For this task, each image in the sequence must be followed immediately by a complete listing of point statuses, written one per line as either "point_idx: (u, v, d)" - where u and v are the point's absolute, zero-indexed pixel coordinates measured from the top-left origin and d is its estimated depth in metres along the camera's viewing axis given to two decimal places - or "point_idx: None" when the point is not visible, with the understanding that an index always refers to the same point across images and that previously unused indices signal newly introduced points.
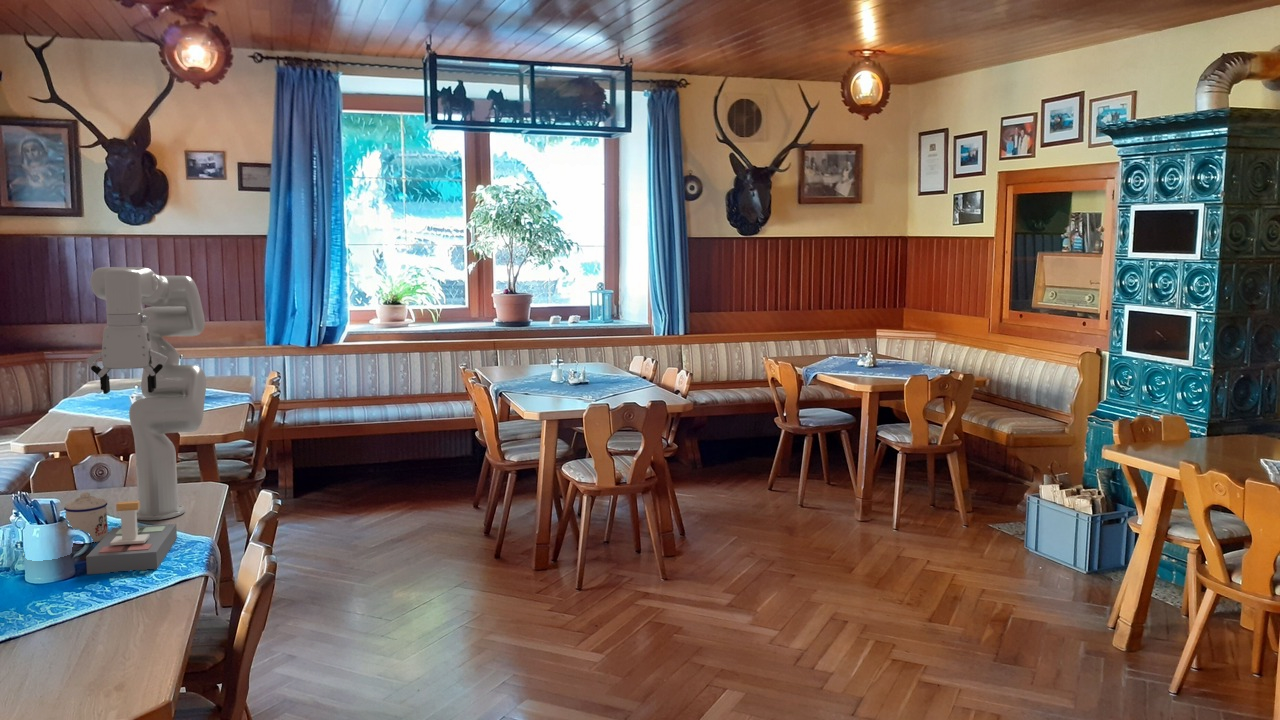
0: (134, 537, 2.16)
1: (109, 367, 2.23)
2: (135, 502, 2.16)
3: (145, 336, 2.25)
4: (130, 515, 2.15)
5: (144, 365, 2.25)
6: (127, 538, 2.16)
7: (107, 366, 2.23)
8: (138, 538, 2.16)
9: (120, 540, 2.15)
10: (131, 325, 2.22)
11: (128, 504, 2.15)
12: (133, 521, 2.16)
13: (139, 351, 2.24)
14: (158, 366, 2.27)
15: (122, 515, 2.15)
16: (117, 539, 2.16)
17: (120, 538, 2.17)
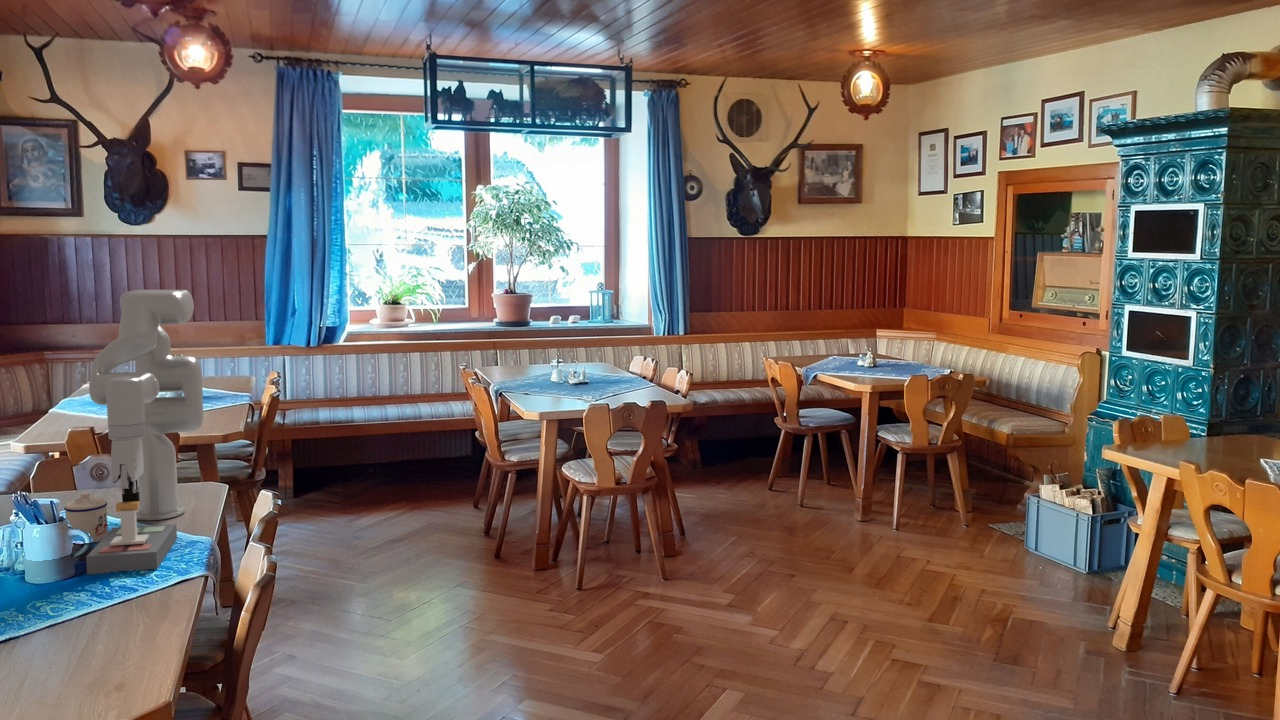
0: (134, 537, 2.16)
1: (135, 480, 2.15)
2: (135, 502, 2.16)
3: None
4: (130, 515, 2.15)
5: (143, 471, 2.22)
6: (127, 538, 2.15)
7: (135, 479, 2.15)
8: (138, 539, 2.16)
9: (120, 540, 2.15)
10: None
11: (128, 504, 2.15)
12: (133, 521, 2.15)
13: None
14: (137, 480, 2.20)
15: (122, 515, 2.15)
16: (117, 539, 2.16)
17: (120, 538, 2.16)
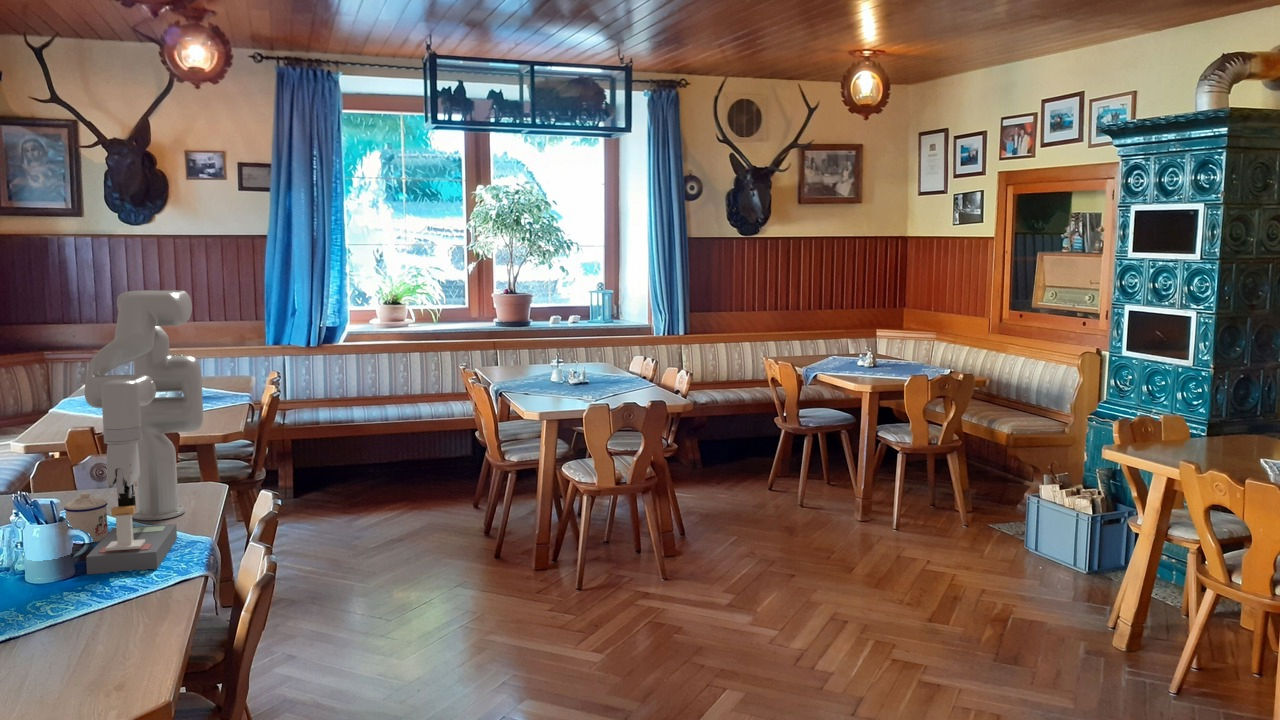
0: (130, 542, 2.12)
1: (131, 484, 2.11)
2: (131, 507, 2.12)
3: None
4: (125, 520, 2.11)
5: (139, 475, 2.18)
6: (122, 543, 2.12)
7: (131, 483, 2.11)
8: (134, 544, 2.12)
9: (115, 545, 2.11)
10: None
11: (123, 509, 2.11)
12: (129, 526, 2.12)
13: (139, 461, 2.17)
14: None
15: (117, 520, 2.11)
16: (112, 544, 2.12)
17: (115, 543, 2.13)
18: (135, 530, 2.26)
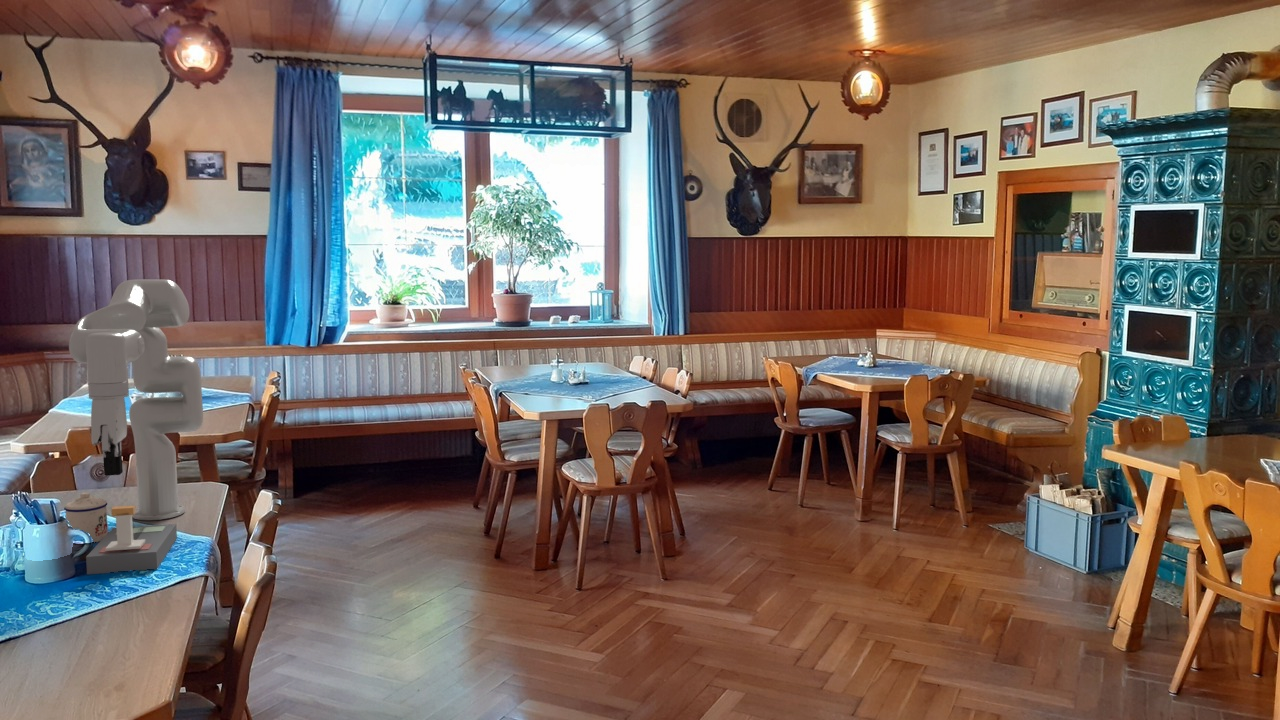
0: (130, 542, 2.12)
1: (117, 442, 2.01)
2: (131, 507, 2.12)
3: None
4: (125, 520, 2.11)
5: (126, 434, 2.08)
6: (122, 543, 2.12)
7: (117, 441, 2.01)
8: (134, 544, 2.12)
9: (115, 545, 2.11)
10: None
11: (123, 509, 2.11)
12: (129, 526, 2.12)
13: (126, 419, 2.07)
14: None
15: (117, 520, 2.11)
16: (112, 544, 2.12)
17: (115, 543, 2.13)
18: (135, 530, 2.26)
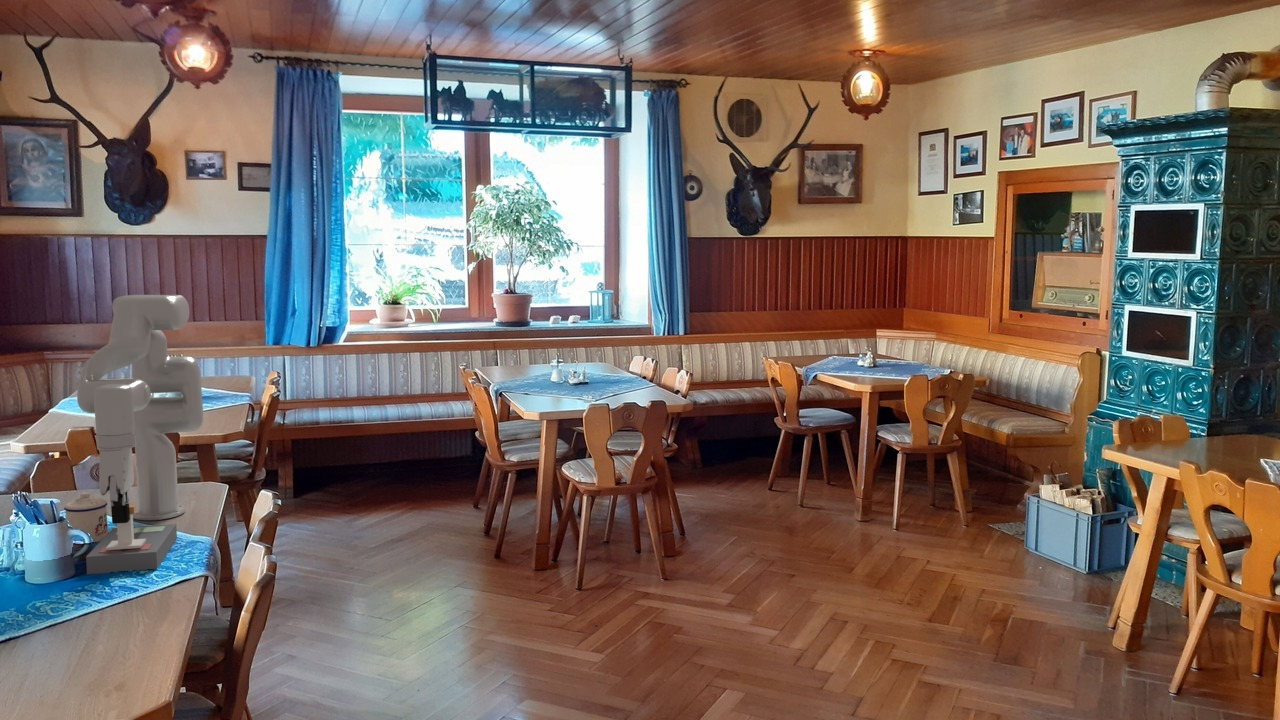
0: (130, 542, 2.13)
1: (124, 492, 2.06)
2: (131, 506, 2.12)
3: None
4: None
5: (133, 482, 2.13)
6: (123, 543, 2.12)
7: (124, 491, 2.06)
8: (134, 543, 2.13)
9: (116, 545, 2.12)
10: None
11: None
12: (129, 525, 2.12)
13: (133, 468, 2.12)
14: None
15: None
16: (113, 544, 2.12)
17: (116, 543, 2.13)
18: (135, 530, 2.26)
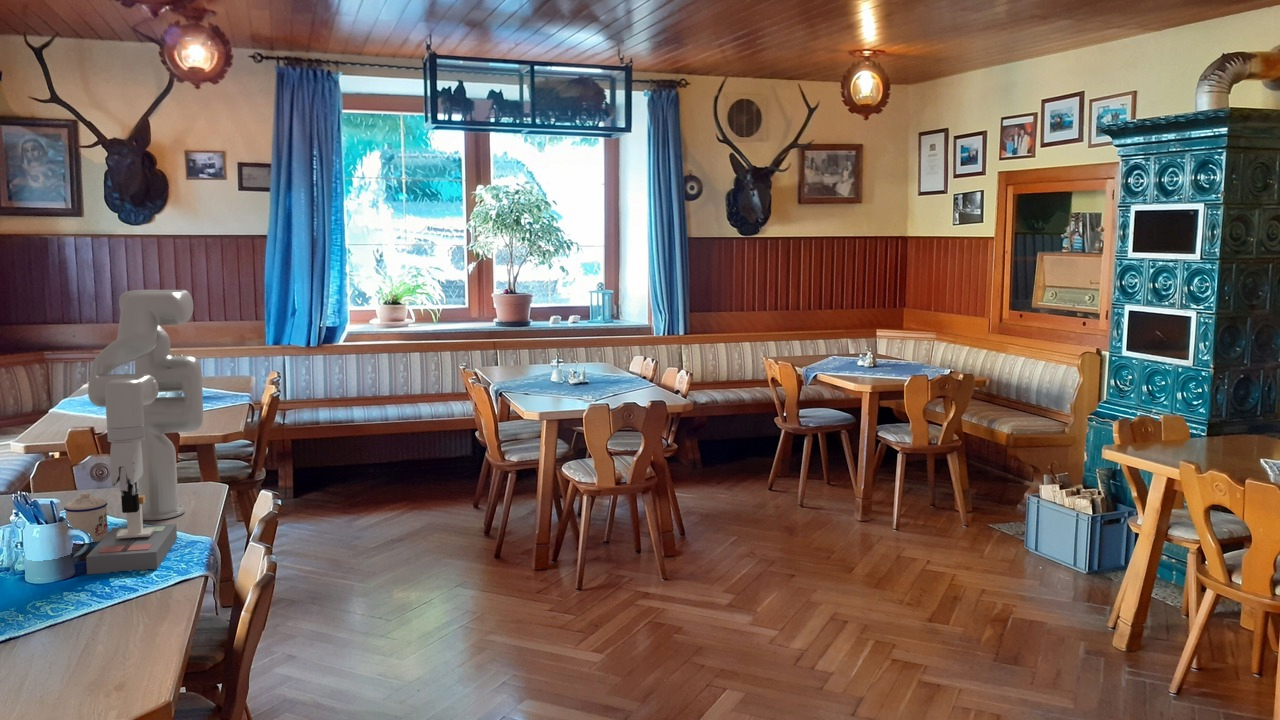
0: (139, 530, 2.21)
1: (134, 482, 2.14)
2: (140, 496, 2.21)
3: None
4: None
5: (142, 473, 2.21)
6: (133, 531, 2.21)
7: (134, 481, 2.14)
8: (143, 532, 2.21)
9: (126, 533, 2.20)
10: None
11: None
12: (138, 515, 2.20)
13: (142, 460, 2.20)
14: (136, 482, 2.20)
15: None
16: (123, 532, 2.21)
17: (126, 531, 2.21)
18: None
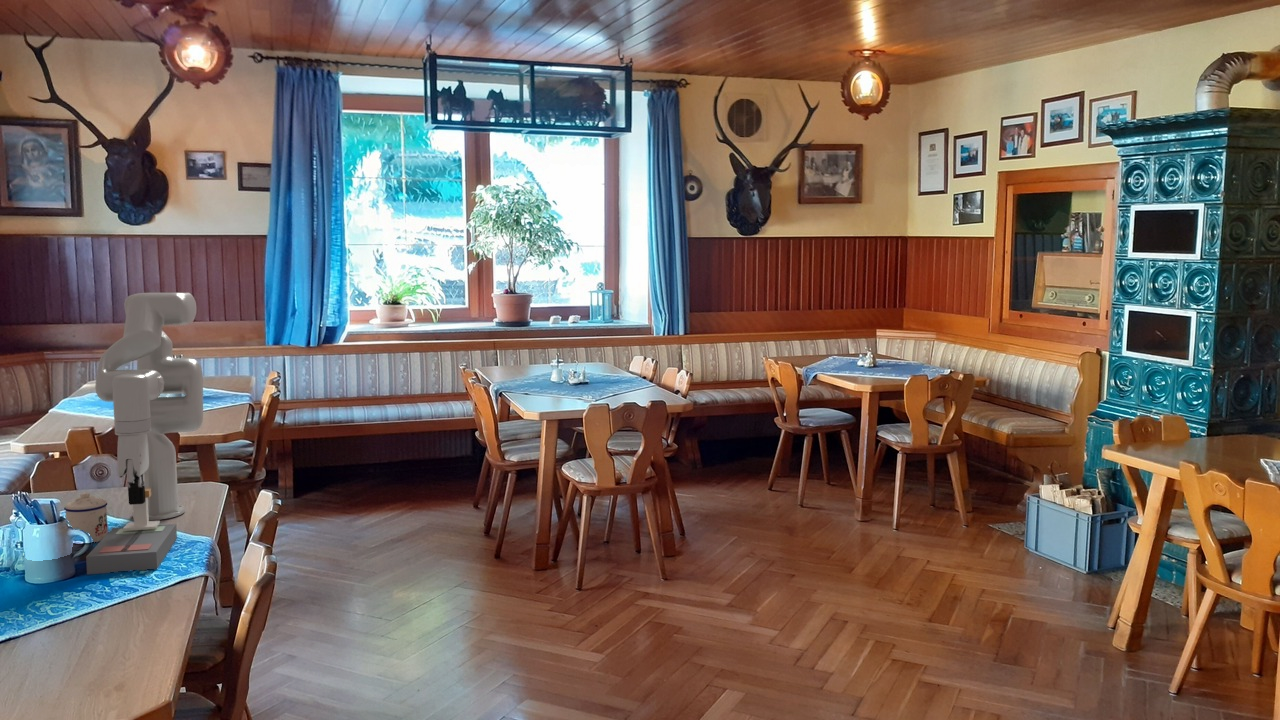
0: (145, 523, 2.27)
1: (141, 474, 2.20)
2: (146, 490, 2.27)
3: None
4: None
5: (148, 466, 2.27)
6: (139, 524, 2.26)
7: (140, 473, 2.20)
8: (149, 525, 2.27)
9: (132, 526, 2.26)
10: None
11: None
12: (144, 508, 2.26)
13: (148, 453, 2.26)
14: None
15: None
16: (129, 525, 2.26)
17: (132, 524, 2.27)
18: (135, 530, 2.26)
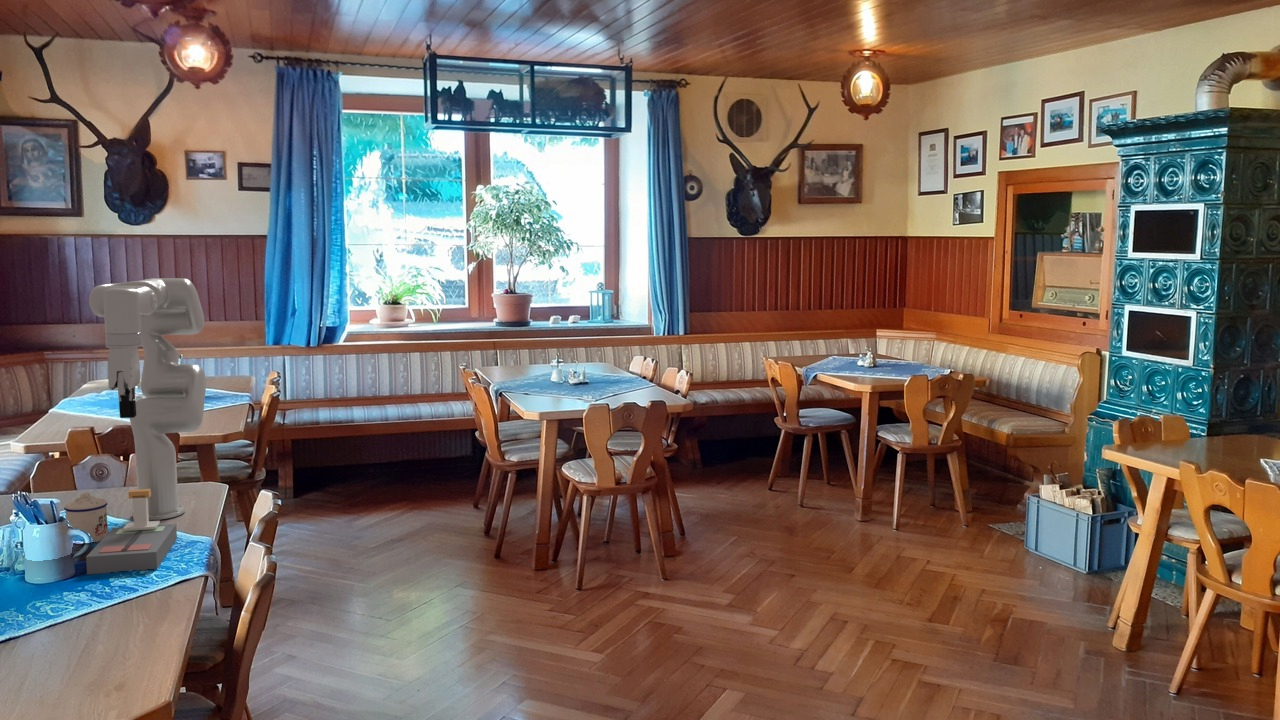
0: (145, 523, 2.27)
1: (131, 387, 2.22)
2: (146, 490, 2.26)
3: None
4: (141, 502, 2.26)
5: (139, 381, 2.29)
6: (139, 524, 2.26)
7: (131, 386, 2.21)
8: (149, 525, 2.27)
9: (132, 526, 2.26)
10: None
11: (140, 492, 2.25)
12: (144, 508, 2.26)
13: (139, 368, 2.28)
14: None
15: (134, 502, 2.25)
16: (129, 525, 2.26)
17: (132, 524, 2.27)
18: (135, 530, 2.26)
